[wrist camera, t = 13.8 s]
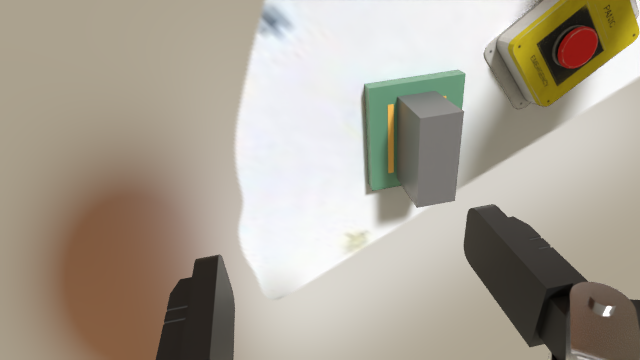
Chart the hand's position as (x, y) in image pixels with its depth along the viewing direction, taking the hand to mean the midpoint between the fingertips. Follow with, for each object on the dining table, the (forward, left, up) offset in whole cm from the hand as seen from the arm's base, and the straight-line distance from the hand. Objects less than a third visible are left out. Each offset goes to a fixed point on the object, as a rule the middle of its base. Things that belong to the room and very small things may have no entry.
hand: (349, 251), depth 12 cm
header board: (+10, +13, -28) cm, 33 cm away
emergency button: (+2, +29, -29) cm, 41 cm away
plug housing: (+10, +13, -27) cm, 31 cm away
